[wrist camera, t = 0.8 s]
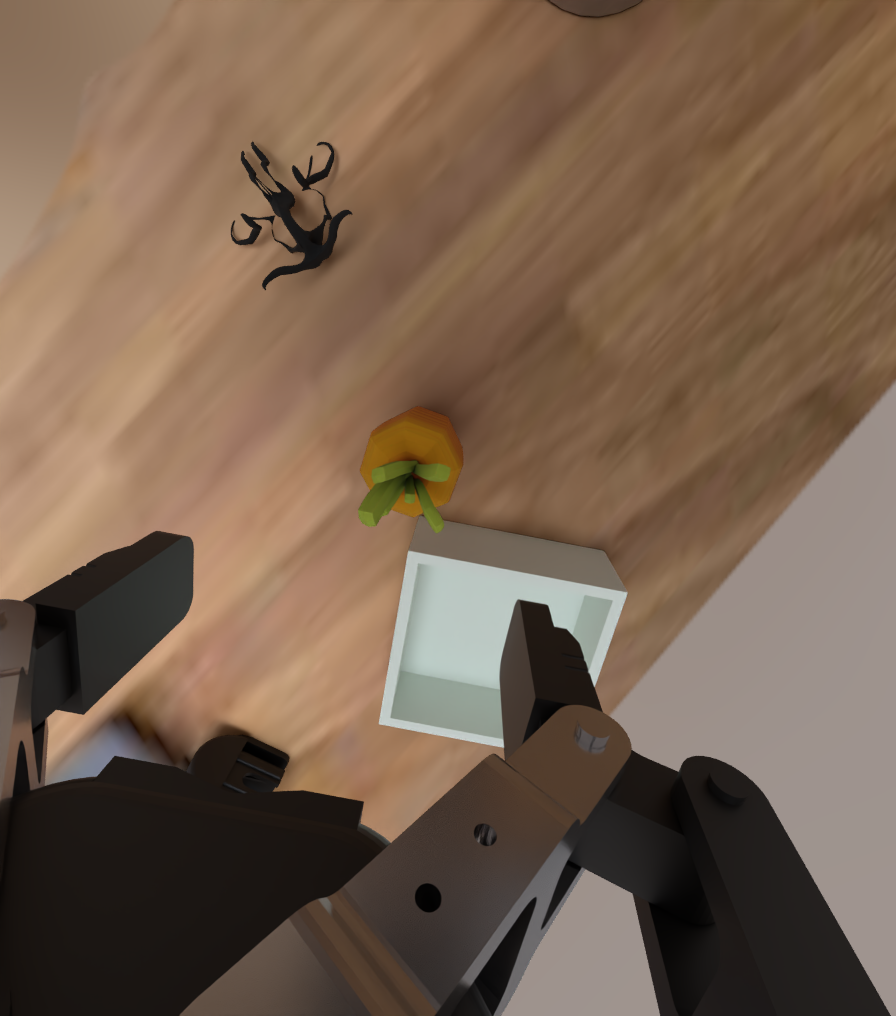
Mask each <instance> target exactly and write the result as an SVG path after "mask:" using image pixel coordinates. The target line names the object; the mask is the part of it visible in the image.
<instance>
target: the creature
mask: <svg viewBox="0 0 896 1016" xmlns="http://www.w3.org/2000/svg"><path fill="white" fill-rule="evenodd" d="M321 144H325V145H328V147H329V149H330V150H331V152H332V153H331V155H330V157H329V160H328V162H327V165H326V167H325V169H323V170H322V171H321V172H318V173H315V174H313V175H311V176H310V177H309V174H310V170H311V165H312V156H311V158H310V163H309V170H308V175H307V178H306V179H305V178H304V177H303V175H302V174H301V173H300V171H299V170H298V168H296V167H295V166H294V165H293V166H292V172H293V174H294V176H295V178H296V180H297V181H298V183H299V184H300V185H301V186H302V187H303V189H302V191H304V190H307V189H311V188H310V187H309V185H310V184H314V183H316V182H317V181H320V180H322V179H324V178H326V177H328V174H329V172H330V169H331V167H332V164H333V162H334V150H333V148H332V146H331V145H330V144H329V143H327V142H319V143H318V144H317V146H318V145H321ZM251 146H252V149H253V150H254V152H255V153H256V155H257V156H258V157H259V159H260V160H261V161H262V162H261V166H262V168H263V169H264V171H265V172H266V173H267V174H268V175H269V176H270V177H271V178H272V179H273V177H272V176H271V174H270V173H269V171H268V169H267V166H268V165H269V163H270V162H269V161H268V159H267V158H266V156H265V155H264V154H263V153H262V152H261V151H260V150H259V149H258V148H257V146H256V145H254V142H253V141H252V143H251ZM244 155H245V154H244V151H242V152H241V161H242V164H243V165H244V166H245V168H246V170H247V172H248V173H249V177H250V179H251V181H252V182H253V183H254V184H255V185H256V186H257V187H258V188H259V189H260V190H261V191H262V192H263V195H264V196H265V198H266V199H267V200H268V201H269V203H270V204H271V206H272V209H273V211H274V213H275V214H276V215H277V216H278V217H281V218H282V220H283V222H284V224H285V226H286V227H287V229H288V230H289V232H290V233H291V235H292V236H293V238H294V239H295V241H296V243H297V245H296V246H295V247H294V248H291V247H289V246H288V245H286V244H284V243H282V242H280V241H277V240H276V239H275V238H274V240H275V241H277V242H279V243H281V244H282V245H283V246H285V247H286V248H287V249H288V251H289V252H290V253H293V252H303V253H305V258H304V260H303V261H302V263H300V264H298V265H293V266H283V267H279V268H276V269H275V270H273V271H272V272H271V273H270V274H269V275H268V276H267V277H266V278H265V279H264V281H263V283H262V286H263V288H264V289H265V290H266V285H267V284H268V283H269V282H270V281H271V280H273V279H274V278H276V277H278V276H280V275H287V274H293V273H297V272H301V271H303V270H307V269H314V268H317V267H318V266H320V264H321V263H322V261H323V260H325V259H327V258H329V256H330V255H331V253H332V250H333V246H334V243H335V241H336V238H337V230H338V227H339V224H340V222H341V220H342V219H343V218H344V217H345V216H346V215H348V214H351V215H352V212H351V211H349V210H343V211H341V212H340V213H338V214H337V215H336V216H334V217H333V219H332V217H331V215H330V213H329V210H328V209H327V207H326V205H325V199H324V196H323V195H322V194H321V193H320V192H319V191H317V190H316V191H317V192H318V193H320V194H321V195H322V196H323V203H324V208H325V211H326V214H327V215H324V219H323V222H322V223H321V224H320V225H319V226H318V227H317V228H315V229H314V230H312V231H310V232H309V231H305V230H303V229H302V228H301V227H300V226H299V225H298V224H297V223H296V222H295V220H294V219H293V218H292V216H291V213H290V210H289V209H291V208H292V207H293V206H294V203H295V198H294V195H293V194H292V193H291V192H290V191H289V190H288V189H287V188H286V187H284V186H283V185H282V184H281V183H279V182H277V181H275V180H274V179H273V181H274V182H275V184H276V185H277V187H278V188H279V189H280V191H281V192H280V193H277V192H273V191H271V190H270V189H269V188H267V187H266V186H265V185H264V184H263V183H262V182H261V181H260V180H259V179H258V178H257V177H256V172H255V171H254V170H253V168H252V167H251V165H250V164H249V163H248V161H247V160H246V159H245V157H244ZM256 180H257V181H258V180H259V181H260V182H261V183H262V184H263V185H264V186H265V187H266V188H267V189H268V190H269V191H270V192H271V194H272V195H271V194H270V193H269V192H268V191H267V190H266V189H265V188H264V186H263V185H262V184H261V183H260V182H259V181H258V182H259V183H260V184H261V186H262V187H263V188H264V189H265V190H266V191H267V193H268V194H269V195H268V194H267V193H266V192H264V191H263V190H262V189H261V188H260V186H259V185H258V183H257V181H256ZM312 190H314V189H312ZM241 216H242V218H243V219H244V221H245V222H246V223H247V224H248V225H249V226H250V227H252V228H253V229H252V231H251V234H250V236H249V238H248V239H244V240H240V241H237V240H236V239H235V238H234V237H233V235H232V227H233V224H234V222H235V220H234V222H233V224H232V227H231V237H232V240H233V241H234V242H235V244H238V245H248V244H253V243H254V241H255V240H256V239H257V237H258V235H259V233H260V231H261V229H262V227H261V226H260V225H258V224H257V223H256V222H255V221H253V220H259V219H266V220H270V222H271V223H272V224H273V220H274V217H275V216H269V217H263V218H255V217H249V216H247V215H246V214H243V213H242V214H241ZM331 219H332V220H331ZM327 220H331V223H330V227H329V235H328V239H327V242H326V243H325V244H324V245H322V240H323V231H324V226H325V223H326V221H327ZM272 234H273V231H272ZM273 237H274V235H273Z"/></svg>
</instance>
